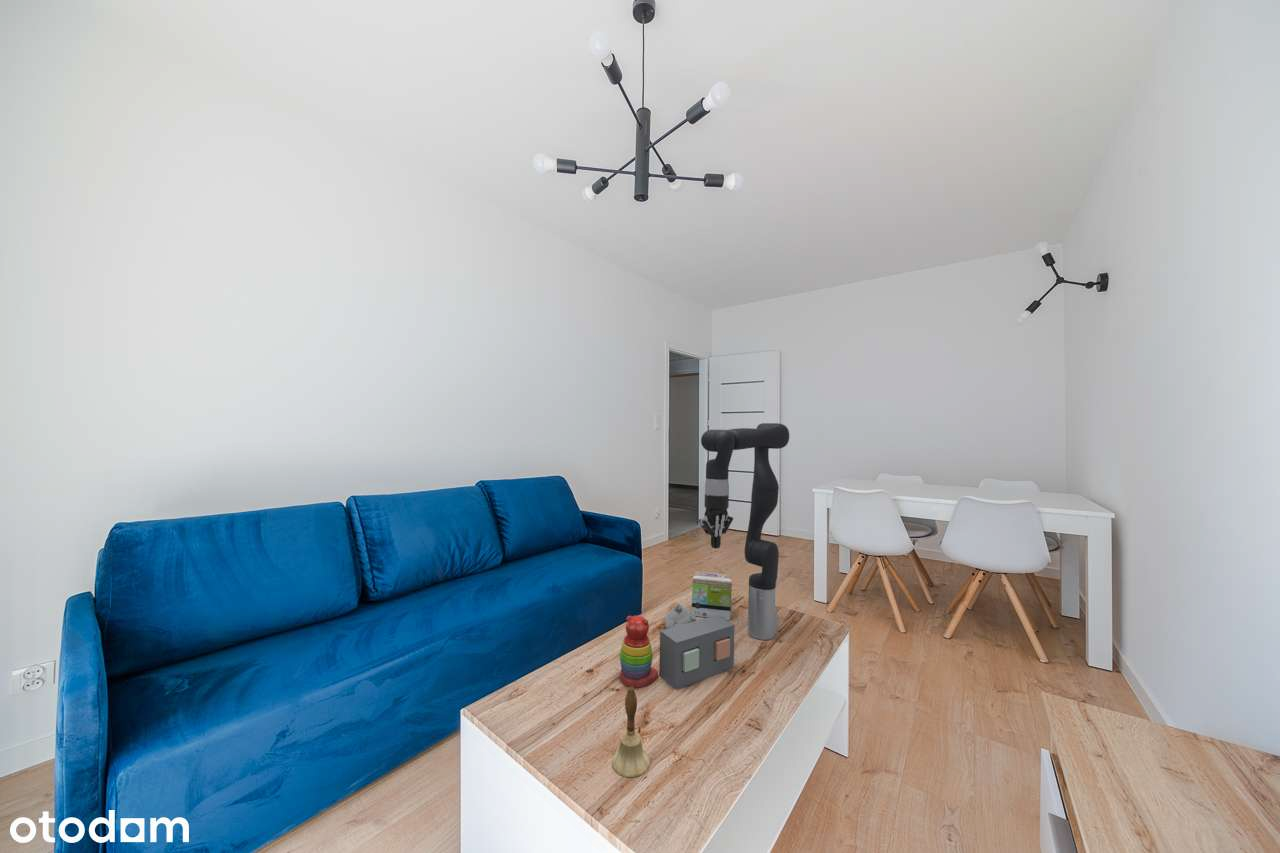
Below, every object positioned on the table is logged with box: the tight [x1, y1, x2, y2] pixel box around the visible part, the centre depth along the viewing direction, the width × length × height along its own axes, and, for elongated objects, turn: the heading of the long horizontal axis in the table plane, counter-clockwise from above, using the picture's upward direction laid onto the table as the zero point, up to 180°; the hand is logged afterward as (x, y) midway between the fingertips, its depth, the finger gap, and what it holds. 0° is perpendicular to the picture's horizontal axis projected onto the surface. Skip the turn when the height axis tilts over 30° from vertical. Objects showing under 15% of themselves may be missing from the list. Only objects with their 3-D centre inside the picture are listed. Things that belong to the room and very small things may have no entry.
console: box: [658, 615, 736, 690], centre depth 129 cm, size 22×8×13 cm, turn 122°
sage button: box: [682, 647, 699, 672], centre depth 123 cm, size 5×4×5 cm
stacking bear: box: [619, 615, 659, 688], centre depth 125 cm, size 11×10×18 cm
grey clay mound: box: [663, 603, 698, 629], centre depth 155 cm, size 12×12×11 cm
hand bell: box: [611, 686, 651, 778], centre depth 93 cm, size 8×8×16 cm
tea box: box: [691, 570, 733, 621], centre depth 170 cm, size 15×10×15 cm, turn 81°
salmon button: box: [714, 637, 730, 661], centre depth 130 cm, size 5×4×5 cm
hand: (715, 547), depth 136 cm, fingers closed
